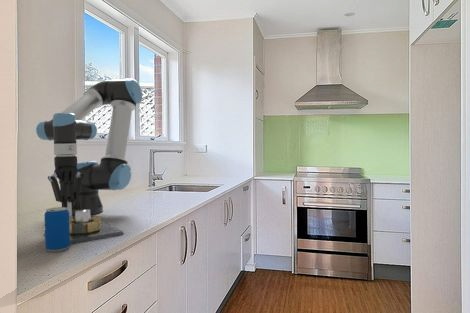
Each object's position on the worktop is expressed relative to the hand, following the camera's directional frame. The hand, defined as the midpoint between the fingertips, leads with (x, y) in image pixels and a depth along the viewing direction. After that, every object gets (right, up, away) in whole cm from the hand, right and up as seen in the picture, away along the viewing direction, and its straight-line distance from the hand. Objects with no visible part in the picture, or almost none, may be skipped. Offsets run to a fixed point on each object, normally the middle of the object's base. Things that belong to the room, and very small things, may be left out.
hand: (68, 219), depth 128 cm
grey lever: (+4, -2, -5) cm, 7 cm away
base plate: (+9, -4, -8) cm, 13 cm away
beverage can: (+9, -4, -25) cm, 27 cm away
